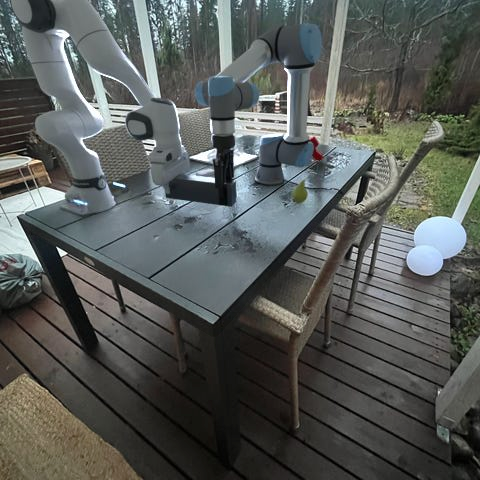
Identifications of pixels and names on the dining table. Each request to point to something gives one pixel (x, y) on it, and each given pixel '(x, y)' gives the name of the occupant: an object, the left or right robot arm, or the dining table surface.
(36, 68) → the left robot arm
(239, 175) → the dining table surface
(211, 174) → the ink box
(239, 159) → the relief map
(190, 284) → the dining table surface
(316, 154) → the toy gun
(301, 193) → the fruit
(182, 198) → the bar
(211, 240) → the dining table surface
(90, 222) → the dining table surface
